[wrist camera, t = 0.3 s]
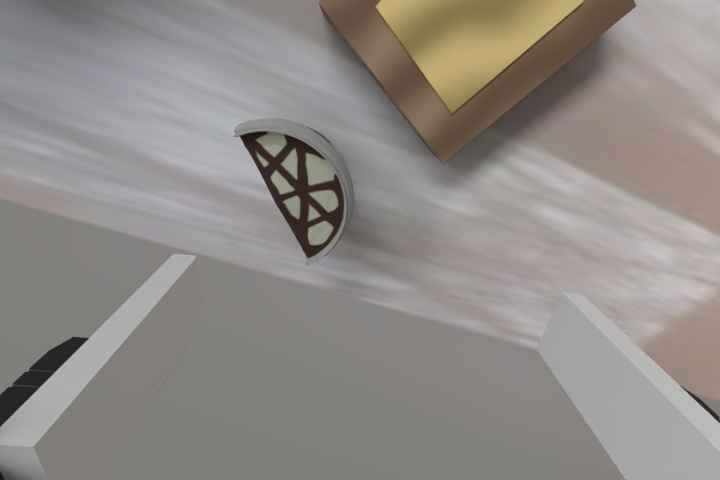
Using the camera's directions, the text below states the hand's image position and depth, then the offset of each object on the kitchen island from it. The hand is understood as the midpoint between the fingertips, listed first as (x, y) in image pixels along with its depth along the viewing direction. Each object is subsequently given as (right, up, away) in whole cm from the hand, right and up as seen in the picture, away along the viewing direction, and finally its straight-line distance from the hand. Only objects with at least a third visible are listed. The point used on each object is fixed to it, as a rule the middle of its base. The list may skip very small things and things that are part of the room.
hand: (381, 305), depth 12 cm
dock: (+8, +22, +17) cm, 29 cm away
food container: (-5, +10, +22) cm, 25 cm away
